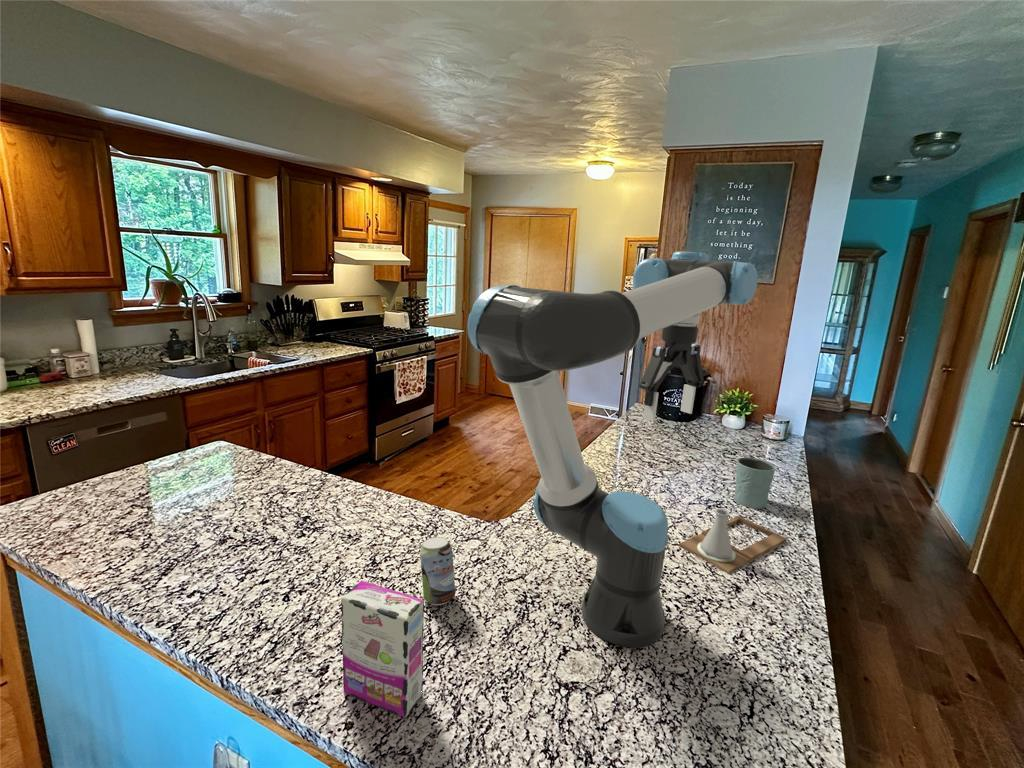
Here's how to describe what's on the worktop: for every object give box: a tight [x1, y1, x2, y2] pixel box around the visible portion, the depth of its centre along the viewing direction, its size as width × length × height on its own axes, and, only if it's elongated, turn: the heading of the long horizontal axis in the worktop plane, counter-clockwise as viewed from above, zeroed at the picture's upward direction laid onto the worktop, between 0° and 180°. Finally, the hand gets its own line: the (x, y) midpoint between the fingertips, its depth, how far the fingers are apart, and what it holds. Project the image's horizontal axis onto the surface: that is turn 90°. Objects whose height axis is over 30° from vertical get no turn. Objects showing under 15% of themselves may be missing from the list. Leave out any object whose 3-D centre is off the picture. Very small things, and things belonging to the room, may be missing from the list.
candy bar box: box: [340, 580, 425, 719], centre depth 73 cm, size 11×5×16 cm, turn 69°
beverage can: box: [419, 536, 456, 606], centre depth 95 cm, size 6×7×12 cm
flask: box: [700, 508, 732, 558], centre depth 116 cm, size 7×7×10 cm
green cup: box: [733, 456, 776, 510], centre depth 145 cm, size 10×10×12 cm
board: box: [678, 515, 788, 574], centre depth 123 cm, size 26×13×1 cm, turn 126°
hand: (668, 415), depth 115 cm, fingers open, 13 cm apart
